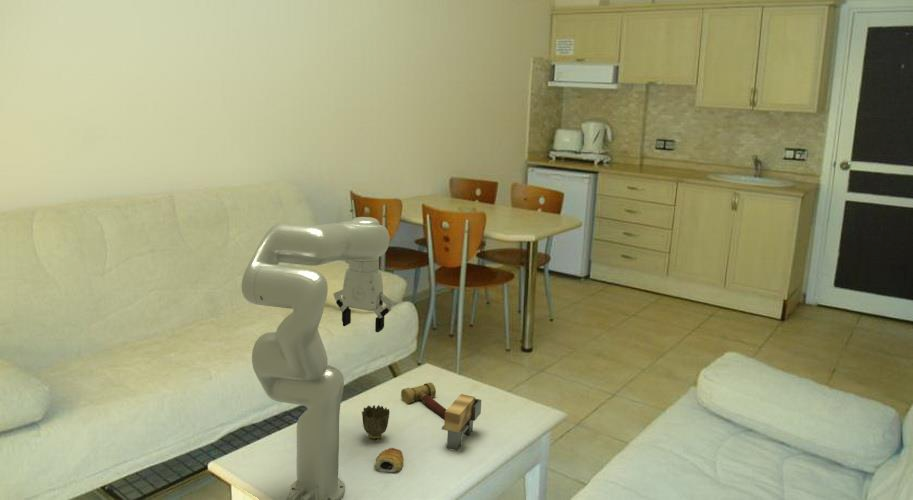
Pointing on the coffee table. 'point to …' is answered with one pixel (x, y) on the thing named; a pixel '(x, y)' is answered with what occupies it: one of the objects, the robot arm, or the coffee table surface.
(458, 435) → the grey tabbed slab
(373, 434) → the cup
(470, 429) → the cup bracket
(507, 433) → the coffee table surface
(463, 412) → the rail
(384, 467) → the pastry
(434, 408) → the gavel
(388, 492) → the coffee table surface
